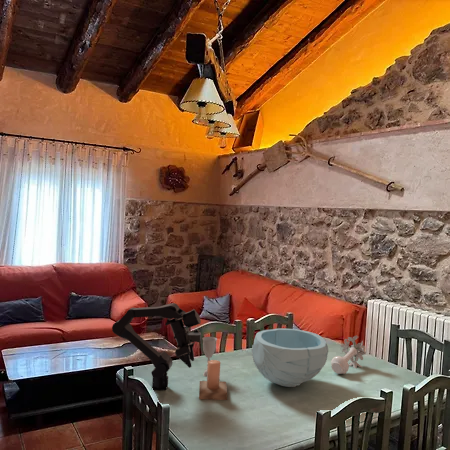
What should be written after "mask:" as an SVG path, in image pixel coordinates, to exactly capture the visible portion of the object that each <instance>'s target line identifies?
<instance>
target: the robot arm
mask: <svg viewBox="0 0 450 450" xmlns="http://www.w3.org/2000/svg"><path fill="white" fill-rule="evenodd" d="M149 317H151V318H152V317H159V318H163V319H166V322H165V323H164V324H165V326H168V325H169V326H170V327H171V331H172V333H173V339H174V340H176V341H175V342H176V343H177V344H176V347H177V348H175V352H174V354H175V357H176V358H178V359H179V360H181V361H182V362H183V363H184V364H185V365H186V366H187V367H188V368H189V369H190V368H192V362H194V361H195V355H194V345H195V343H201V341H202V332H201V331H200V330H199V329H198V328H197V329H196V328H195V329H194V331H193V332H189V330H188V329H187V328H192V327H195V326H198V325H201V323H202V321H201V317H200V314H198V312H197V311H196V309H191V310H190V311H187V312H186V311H185V310H183V309H182V308H180V306H179V305H178V304H177V303H174V302H172V303H167V304H164V305H161V306H160V305H159V306H150V307H149V306H148V307H147V306H146V307H131V308H129V309H128V310H127V311H126V312H125V314H124V315H122V317H121V318H120V319H119V320H117V321H115V322H113V324H112V326H111V331H112V333H113V334H115V335H116V336H118V337H119V338H122V339H125V340H127V341H128V342H129V343H131V344H132V345H133V346H134V347H135V348H136V349H138V350H139V351H140V352H141V353H142V354H143V355H144V356H146V357H147V358H148V359H149V360H150V361H151V364H152V365H153V367H154V368H153V370H152V371H151V377H152V381H151V382H152V385H151V389H152V388H153V390H152V391H166V390H167V388H168V386H169V376H168V372H169V370H170V369H171V368H172V366H173V358H171V357H172V356H171V355H170V354H168V353H167V352H166V350H163V351H162V352H160V351H158V350H157V349H156V348H155V347H153V346H152V345H151V344H150V343H148V342H147V340H145V339H144V338H143V337H141V336H140V335H139V333H137V332H136V331H135V330H134V328H133V326H132V324H131V323H132V321H133V320H134V319H135V318H149Z"/></svg>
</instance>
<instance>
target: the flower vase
mask: <svg viewBox="0 0 450 450" xmlns="http://www.w3.org/2000/svg"><path fill="white" fill-rule="evenodd" d="M358 338H359V336H358V335H357V334H356V335H354V336H353V337H351V336H348V337H347V338H344V341H343V342H344V343H341V344H340V347H341V348H342V350H341V352H342V353H345V355H343V356H341V355H335V356H334V357H333V358H332V359H331V361H330V364H331V369H332V371H333V372H334V373H335V374H338V375H345V374H347V372H348V371H349V368H350V366H351V367H353V368H354V369H357V368H358V367H359V368H363V366H362V365H361V364H360V363H359V362H358V360H360V361H364V356H363V355H367V352H366V351H365V350H366V346H365V344H364V340H363V339H362V340H361V342H358V343H356V340H357V339H358ZM350 342H352V344H351V345H350ZM363 344H364V345H363ZM349 361H350V362H349Z"/></svg>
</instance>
